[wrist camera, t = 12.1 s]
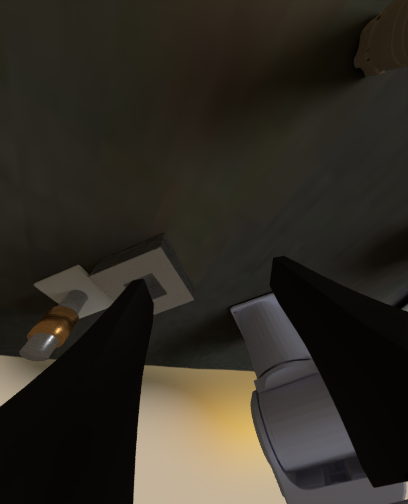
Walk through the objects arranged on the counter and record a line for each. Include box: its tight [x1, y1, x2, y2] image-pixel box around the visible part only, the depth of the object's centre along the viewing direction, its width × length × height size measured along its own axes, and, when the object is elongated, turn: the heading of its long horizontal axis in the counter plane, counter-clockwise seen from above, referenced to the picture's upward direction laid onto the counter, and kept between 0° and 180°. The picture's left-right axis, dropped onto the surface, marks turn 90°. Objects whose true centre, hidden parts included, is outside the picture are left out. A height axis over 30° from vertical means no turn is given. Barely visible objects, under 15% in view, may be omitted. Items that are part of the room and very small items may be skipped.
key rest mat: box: [34, 265, 114, 319], centre depth 21 cm, size 7×6×1 cm
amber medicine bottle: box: [19, 290, 88, 361], centre depth 18 cm, size 3×3×7 cm
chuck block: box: [88, 233, 194, 315], centre depth 20 cm, size 8×8×3 cm
